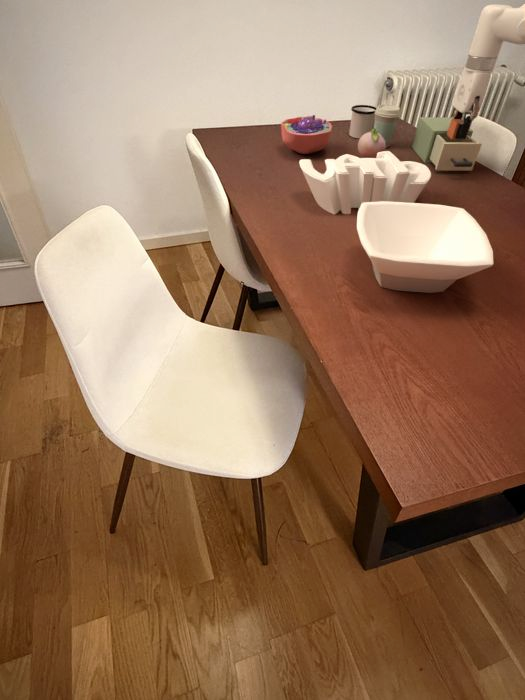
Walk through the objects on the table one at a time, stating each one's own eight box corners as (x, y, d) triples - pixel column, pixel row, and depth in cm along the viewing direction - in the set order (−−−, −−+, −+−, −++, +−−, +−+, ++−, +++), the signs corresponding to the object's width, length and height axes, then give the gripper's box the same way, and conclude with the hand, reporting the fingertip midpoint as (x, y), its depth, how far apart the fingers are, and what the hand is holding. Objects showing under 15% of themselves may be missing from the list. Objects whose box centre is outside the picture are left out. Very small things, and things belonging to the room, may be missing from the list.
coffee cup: (378, 139, 147) (386, 102, 139) (397, 146, 143) (406, 108, 134) (363, 144, 143) (370, 106, 135) (382, 151, 139) (390, 112, 130)
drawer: (478, 176, 122) (488, 149, 116) (441, 176, 121) (450, 149, 116) (456, 155, 135) (464, 129, 129) (422, 154, 134) (429, 129, 129)
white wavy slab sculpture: (300, 214, 105) (304, 173, 97) (295, 188, 116) (298, 149, 109) (433, 215, 105) (446, 174, 98) (415, 188, 117) (426, 150, 110)
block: (460, 134, 125) (465, 119, 122) (465, 139, 122) (471, 123, 119) (446, 134, 125) (451, 118, 122) (451, 139, 122) (456, 123, 119)
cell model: (329, 142, 144) (333, 107, 136) (328, 163, 130) (332, 124, 122) (282, 140, 146) (284, 104, 138) (276, 160, 132) (277, 121, 124)
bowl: (346, 240, 95) (353, 198, 88) (454, 247, 94) (471, 205, 87) (350, 303, 78) (360, 257, 71) (483, 313, 77) (506, 267, 69)
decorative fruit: (352, 156, 135) (358, 124, 128) (376, 156, 135) (383, 124, 128) (358, 167, 128) (364, 133, 121) (383, 167, 128) (391, 133, 121)
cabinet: (462, 162, 132) (473, 131, 125) (424, 162, 132) (433, 130, 125) (446, 147, 142) (456, 117, 136) (411, 147, 142) (419, 117, 135)
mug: (371, 140, 147) (377, 113, 140) (346, 138, 148) (350, 110, 142) (373, 130, 155) (378, 104, 148) (349, 128, 156) (353, 102, 150)
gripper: (455, 57, 116) (435, 127, 129) (479, 70, 104) (454, 145, 117) (481, 58, 116) (458, 127, 129) (507, 70, 104) (479, 145, 117)
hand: (457, 135), depth 123 cm, fingers closed on block, 4 cm apart
